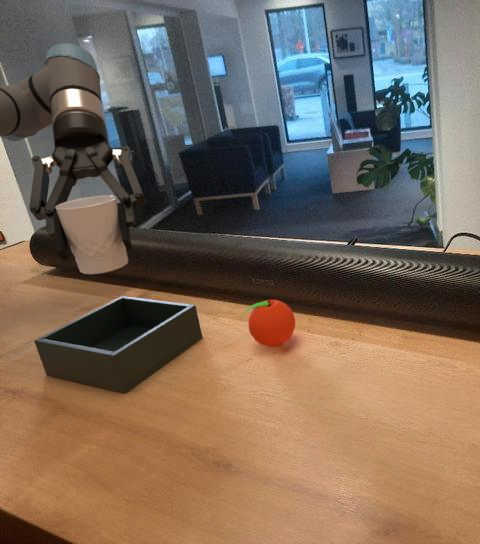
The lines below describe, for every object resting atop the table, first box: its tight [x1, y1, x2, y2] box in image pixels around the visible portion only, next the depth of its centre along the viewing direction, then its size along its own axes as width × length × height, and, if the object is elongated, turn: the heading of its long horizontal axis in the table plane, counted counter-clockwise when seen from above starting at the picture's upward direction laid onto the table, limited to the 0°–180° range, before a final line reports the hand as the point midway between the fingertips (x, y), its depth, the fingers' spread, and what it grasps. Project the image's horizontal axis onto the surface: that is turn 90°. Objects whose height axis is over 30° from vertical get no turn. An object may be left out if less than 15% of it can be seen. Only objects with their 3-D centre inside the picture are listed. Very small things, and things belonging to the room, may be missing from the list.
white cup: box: [55, 195, 129, 275], centre depth 73 cm, size 8×8×10 cm
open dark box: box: [33, 295, 204, 394], centre depth 74 cm, size 16×16×6 cm
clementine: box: [240, 299, 296, 348], centre depth 74 cm, size 8×7×7 cm
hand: (95, 250), depth 70 cm, fingers closed on white cup, 8 cm apart
